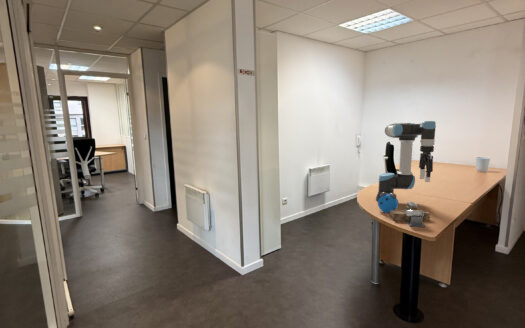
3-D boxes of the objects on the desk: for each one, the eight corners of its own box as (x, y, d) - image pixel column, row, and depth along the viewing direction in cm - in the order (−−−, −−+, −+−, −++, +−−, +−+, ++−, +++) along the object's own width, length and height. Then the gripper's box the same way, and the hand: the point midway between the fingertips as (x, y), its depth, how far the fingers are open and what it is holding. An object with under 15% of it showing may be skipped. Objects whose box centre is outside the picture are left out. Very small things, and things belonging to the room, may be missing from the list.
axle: (407, 217, 182) (407, 211, 181) (405, 214, 186) (405, 208, 185) (423, 217, 181) (424, 212, 180) (421, 214, 184) (421, 209, 183)
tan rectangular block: (406, 212, 191) (406, 207, 191) (404, 211, 195) (405, 205, 194) (414, 213, 191) (414, 207, 190) (412, 211, 194) (412, 205, 193)
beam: (393, 220, 192) (394, 205, 190) (389, 216, 199) (390, 201, 198) (431, 221, 188) (432, 206, 186) (426, 217, 196) (427, 202, 194)
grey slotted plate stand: (405, 222, 189) (406, 213, 188) (420, 222, 187) (420, 213, 186) (410, 226, 181) (410, 217, 180) (425, 227, 179) (425, 218, 178)
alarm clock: (398, 212, 207) (399, 193, 205) (395, 214, 203) (396, 194, 200) (379, 209, 216) (380, 190, 213) (377, 211, 211) (378, 192, 209)
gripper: (414, 144, 188) (412, 177, 192) (427, 147, 168) (424, 184, 172) (426, 143, 187) (424, 177, 191) (441, 147, 167) (438, 184, 171)
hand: (424, 180), depth 181 cm, fingers open, 8 cm apart
